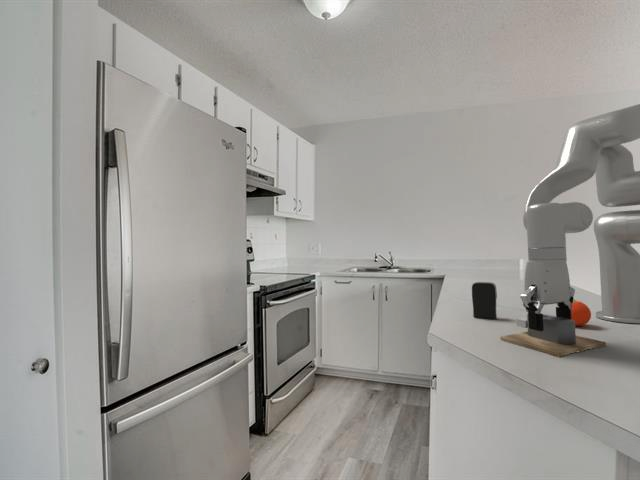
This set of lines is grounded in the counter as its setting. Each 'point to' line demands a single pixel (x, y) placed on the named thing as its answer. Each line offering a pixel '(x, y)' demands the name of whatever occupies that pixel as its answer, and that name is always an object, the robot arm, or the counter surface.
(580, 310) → the clementine
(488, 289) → the battery charger
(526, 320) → the usb stick
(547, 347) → the board
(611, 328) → the counter surface
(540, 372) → the counter surface
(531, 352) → the counter surface
